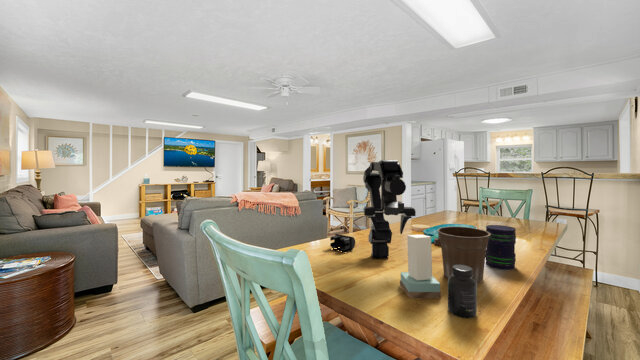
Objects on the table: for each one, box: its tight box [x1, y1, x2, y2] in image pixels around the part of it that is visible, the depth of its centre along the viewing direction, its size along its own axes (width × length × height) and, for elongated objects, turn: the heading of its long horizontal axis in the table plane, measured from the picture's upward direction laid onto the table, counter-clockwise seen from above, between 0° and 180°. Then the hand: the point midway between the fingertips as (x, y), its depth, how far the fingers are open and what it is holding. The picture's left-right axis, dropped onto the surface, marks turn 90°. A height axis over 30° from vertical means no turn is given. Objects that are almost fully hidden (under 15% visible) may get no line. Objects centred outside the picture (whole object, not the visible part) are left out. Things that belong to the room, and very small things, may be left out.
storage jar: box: [485, 224, 517, 271], centre depth 108 cm, size 10×10×15 cm
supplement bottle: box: [447, 265, 478, 319], centre depth 73 cm, size 7×7×12 cm
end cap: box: [329, 233, 356, 253], centre depth 132 cm, size 10×7×7 cm
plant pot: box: [436, 226, 490, 284], centre depth 97 cm, size 16×16×16 cm
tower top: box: [400, 271, 441, 292], centre depth 86 cm, size 9×9×2 cm
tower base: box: [399, 279, 442, 300], centre depth 86 cm, size 9×9×2 cm
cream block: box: [406, 233, 433, 280], centre depth 86 cm, size 5×5×12 cm
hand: (388, 233), depth 107 cm, fingers open, 9 cm apart
